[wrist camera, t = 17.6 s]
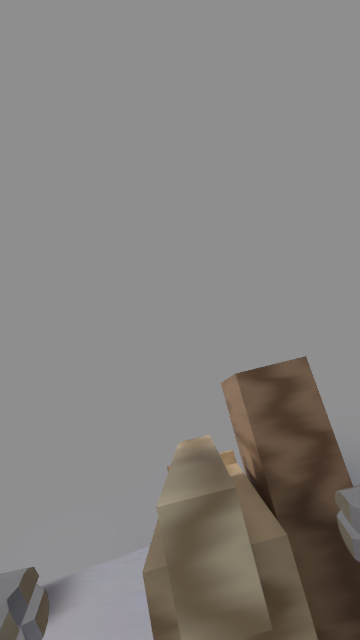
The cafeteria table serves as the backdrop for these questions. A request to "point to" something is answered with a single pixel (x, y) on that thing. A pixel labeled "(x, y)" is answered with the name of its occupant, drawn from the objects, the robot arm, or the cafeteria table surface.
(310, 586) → the walnut block
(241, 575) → the maple batten
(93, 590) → the cafeteria table surface
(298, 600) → the oak stand
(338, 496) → the robot arm
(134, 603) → the cafeteria table surface
